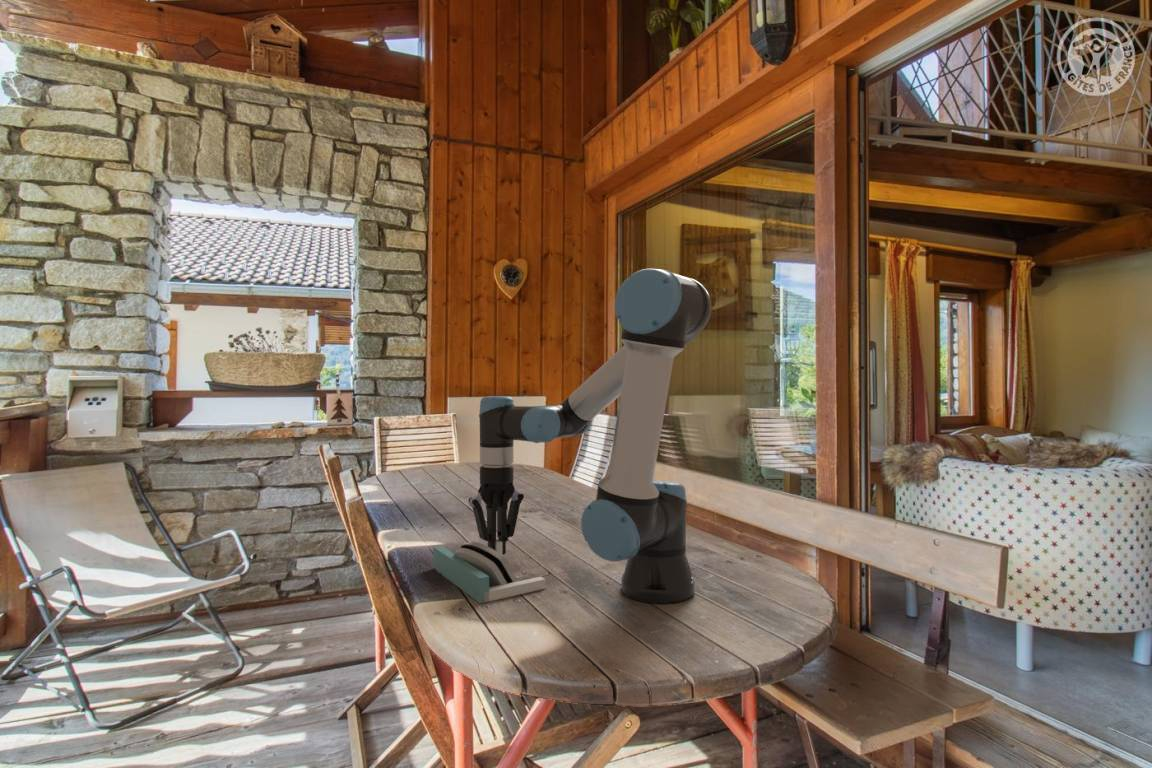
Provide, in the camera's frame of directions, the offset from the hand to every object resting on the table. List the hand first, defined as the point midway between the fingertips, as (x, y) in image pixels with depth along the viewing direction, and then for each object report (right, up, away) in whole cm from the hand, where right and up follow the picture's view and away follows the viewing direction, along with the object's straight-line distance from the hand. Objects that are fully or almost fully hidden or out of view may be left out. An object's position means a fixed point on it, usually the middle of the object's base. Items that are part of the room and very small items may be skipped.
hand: (496, 569), depth 135 cm
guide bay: (-2, -1, -1) cm, 2 cm away
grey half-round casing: (-1, -2, -4) cm, 5 cm away
